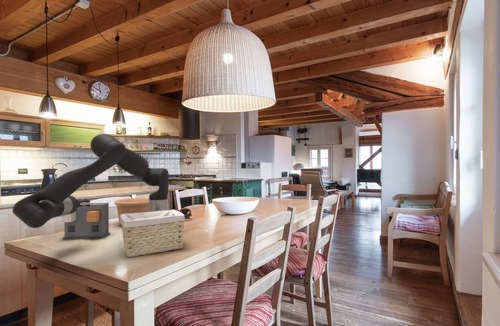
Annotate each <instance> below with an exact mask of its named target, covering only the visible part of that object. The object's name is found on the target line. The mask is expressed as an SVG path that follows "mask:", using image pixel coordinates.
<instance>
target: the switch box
mask: <svg viewBox="0 0 500 326" xmlns="http://www.w3.org/2000/svg"><path fill="white" fill-rule="evenodd" d="M109 206H110V205H109V202H90V206H89V207H88V206H85V205H83V206H82V207H79V208H77V210H76V211H77V220H75V221H73V222H64V236H62V240H104V239H105V238H106V237H108V236H110V235H111V232H110V231H109V229H110V227H109V221H110V220H109V219H110V218H109V211H110V210H109V209H110V208H109ZM89 211H101V220H99V221H96V222H87V212H89Z"/></svg>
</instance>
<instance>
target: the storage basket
mask: <svg viewBox="0 0 500 326" xmlns="http://www.w3.org/2000/svg"><path fill="white" fill-rule="evenodd" d="M176 210H177V209H168V210H166V211H155V212H144V213H130V214H121V215H120V218H121V220H120V223H121V224H122V227H121V229H122V231H121V232H122V241H123V249H124V252H125V254H126V257H128V258H130V257H131V258H132V257H133V258H134V257H138V256H145V255H151V254H156V253H165V252H169V251H174V250H181V249H183V245H184V227H185V226H184V225H185V220H186V219H185V218H184V214H182V213H181V212H182V211H181V212H179V211H176Z"/></svg>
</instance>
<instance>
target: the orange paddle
mask: <svg viewBox="0 0 500 326" xmlns="http://www.w3.org/2000/svg"><path fill="white" fill-rule="evenodd" d="M99 220H101V211H89V212H87V222H96V221H99Z"/></svg>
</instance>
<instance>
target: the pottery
mask: <svg viewBox="0 0 500 326" xmlns="http://www.w3.org/2000/svg"><path fill="white" fill-rule="evenodd" d="M114 205H115V206H116V211H117V217H118V223H119V227H121V228H122V224H121V223H120V220H121V218H120V215H121V214H130V213H144V212H149V197H135V198H133V197H132V198H121V199H117V200H115V201H114Z"/></svg>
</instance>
